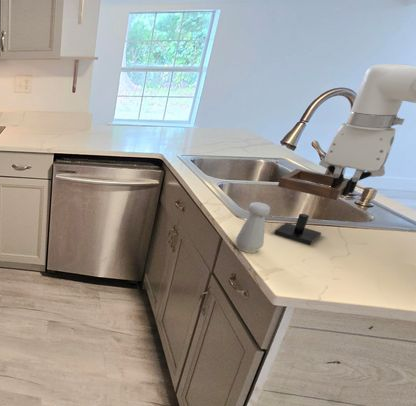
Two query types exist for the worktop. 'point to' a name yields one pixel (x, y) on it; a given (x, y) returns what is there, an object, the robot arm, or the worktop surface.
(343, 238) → the worktop surface
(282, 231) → the peg stand
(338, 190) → the walnut frame
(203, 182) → the worktop surface
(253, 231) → the salt shaker
